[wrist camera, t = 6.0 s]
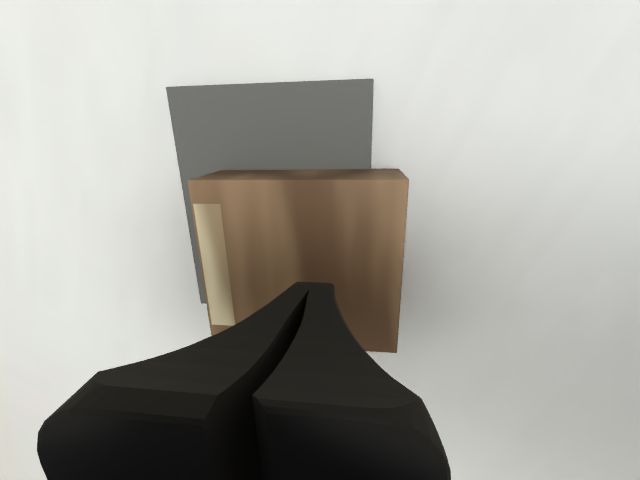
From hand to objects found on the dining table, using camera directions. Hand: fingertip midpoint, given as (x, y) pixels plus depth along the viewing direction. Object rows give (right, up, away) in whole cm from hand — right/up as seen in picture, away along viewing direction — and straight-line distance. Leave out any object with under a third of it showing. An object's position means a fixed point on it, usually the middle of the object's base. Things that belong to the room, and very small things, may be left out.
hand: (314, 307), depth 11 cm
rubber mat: (-2, +4, +6) cm, 8 cm away
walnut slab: (+4, +1, +4) cm, 6 cm away
